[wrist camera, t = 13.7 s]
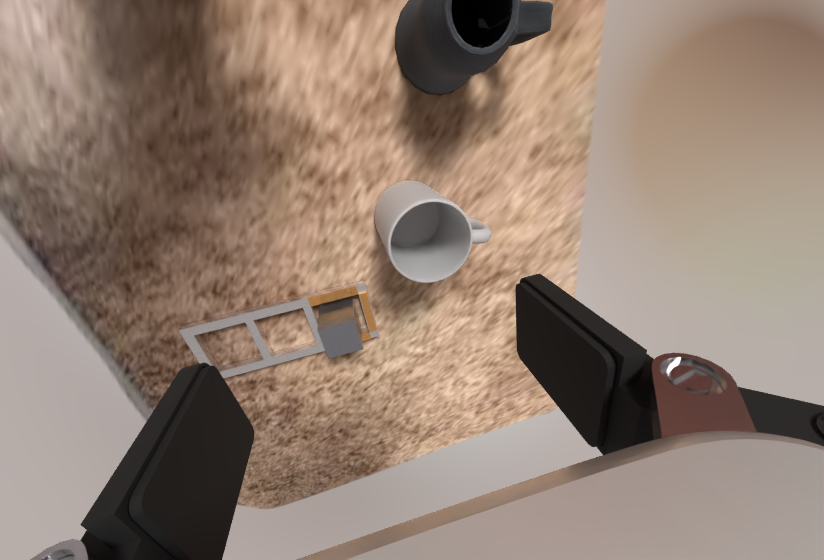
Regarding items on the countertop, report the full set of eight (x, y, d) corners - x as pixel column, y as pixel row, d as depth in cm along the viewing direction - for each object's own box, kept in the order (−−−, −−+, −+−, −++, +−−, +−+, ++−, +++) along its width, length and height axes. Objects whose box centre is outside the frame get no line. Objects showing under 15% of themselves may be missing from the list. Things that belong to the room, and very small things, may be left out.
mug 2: (398, 98, 34) (424, 85, 24) (390, -14, 30) (417, -85, 20) (503, 91, 36) (567, 76, 26) (508, -15, 32) (587, -80, 22)
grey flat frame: (182, 324, 39) (177, 331, 38) (364, 279, 42) (365, 284, 41) (214, 375, 43) (210, 382, 42) (378, 331, 46) (379, 336, 45)
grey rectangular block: (319, 304, 42) (317, 330, 37) (352, 296, 43) (354, 320, 37) (329, 331, 44) (328, 358, 39) (360, 322, 45) (363, 349, 39)
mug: (373, 248, 40) (385, 286, 31) (374, 178, 37) (388, 196, 27) (462, 246, 43) (498, 281, 33) (470, 181, 39) (514, 199, 30)
